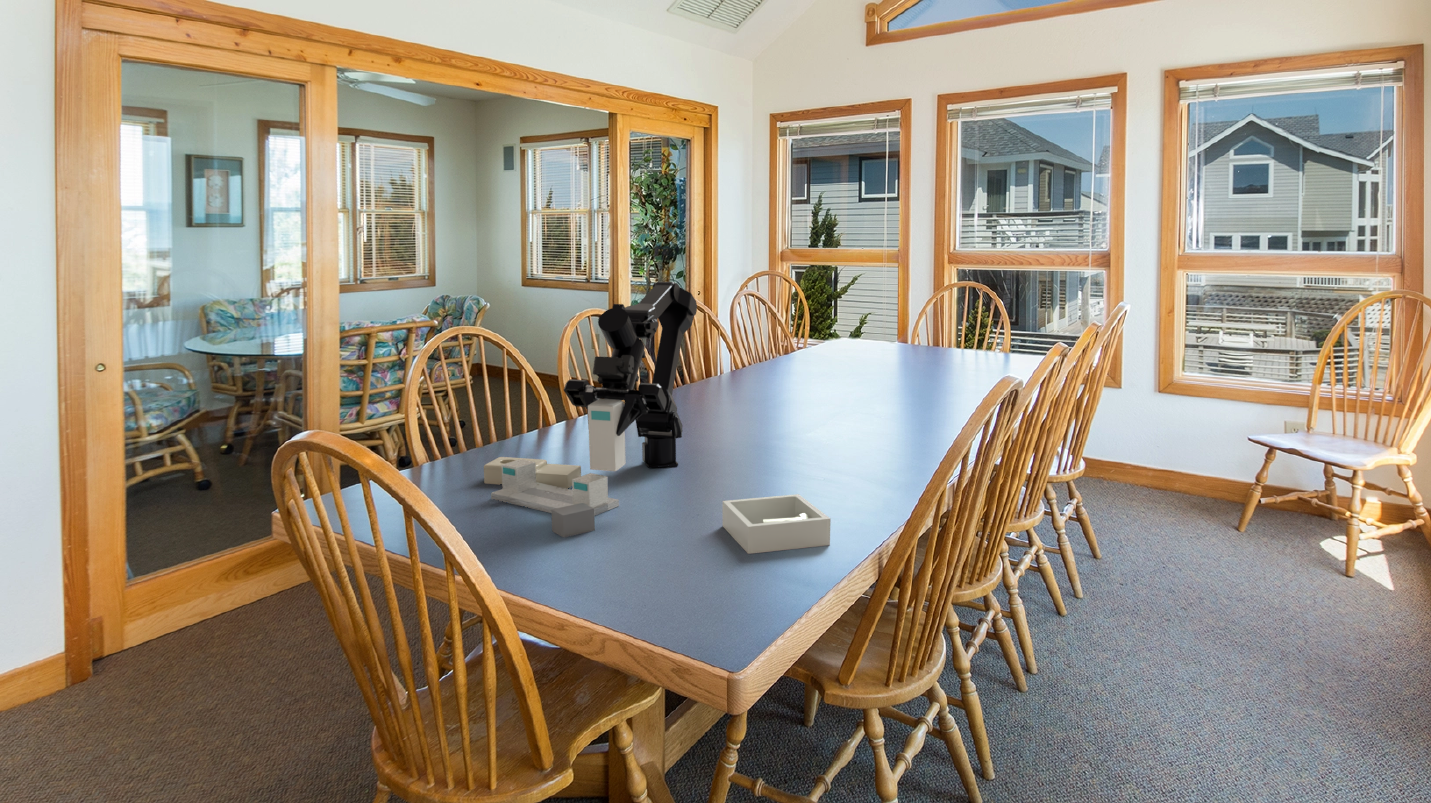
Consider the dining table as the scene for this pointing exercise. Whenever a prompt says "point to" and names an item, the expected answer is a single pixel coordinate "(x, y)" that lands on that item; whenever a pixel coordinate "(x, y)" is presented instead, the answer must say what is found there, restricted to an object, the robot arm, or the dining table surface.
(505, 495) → the rail plate
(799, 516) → the pipe fitting
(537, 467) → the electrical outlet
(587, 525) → the grey rectangular block
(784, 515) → the parts tray
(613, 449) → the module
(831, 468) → the dining table surface
